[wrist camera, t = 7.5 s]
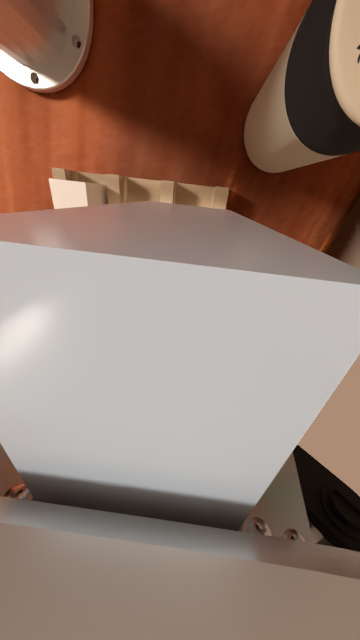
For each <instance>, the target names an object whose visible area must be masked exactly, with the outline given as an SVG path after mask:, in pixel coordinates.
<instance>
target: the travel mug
mask: <svg viewBox="0 0 360 640" xmlns="http://www.w3.org/2000/svg"><path fill="white" fill-rule="evenodd" d="M244 144H245V149H246V152H247V155H248V157H249V159H250V160H251V162H252V163H253V164H254V165H255V166H256V167H257V168H259V169H260V170H262V171H264V172H268V173H280V172H284V171H287V170H291V169H295V168H299V167H302V166H306V165H310V164H313V163H317V162H321V161H325V160H328V159H332V158H336V157H339V156H343V155H347V154H350V153H354V152H358V151H360V0H313V1H312V3H311V4H310V6H309V8H308V9H307V11H306V13H305V14H304V16H303V18H302V20H301V21H300V23H299V25H298V26H297V28H296V30H295V32H294V33H293V35H292V37H291V38H290V40H289V42H288V43H287V45H286V47H285V49H284V50H283V52H282V54H281V55H280V57H279V59H278V61H277V62H276V64H275V66H274V67H273V69H272V71H271V72H270V74H269V76H268V78H267V79H266V81H265V83H264V84H263V86H262V88H261V89H260V91H259V93H258V95H257V96H256V98H255V100H254V101H253V103H252V105H251V107H250V110H249V112H248V115H247V118H246V122H245V128H244Z"/></svg>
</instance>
